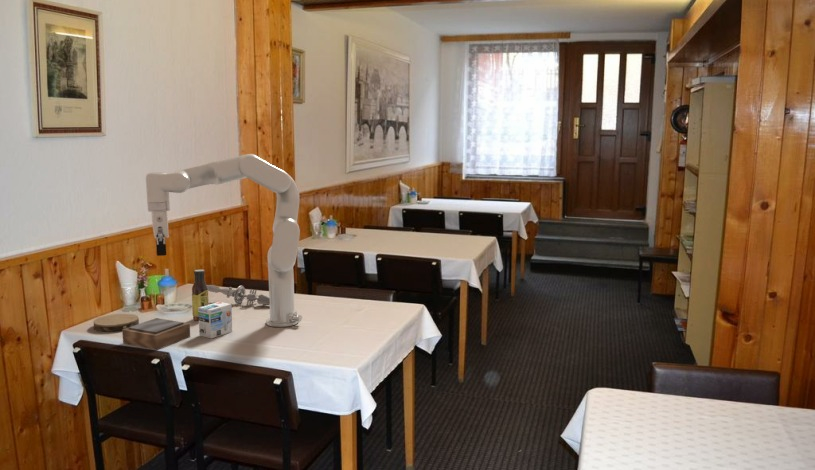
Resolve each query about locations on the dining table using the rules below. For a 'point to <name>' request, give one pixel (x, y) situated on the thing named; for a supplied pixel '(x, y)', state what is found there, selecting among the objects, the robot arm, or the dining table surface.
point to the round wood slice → (115, 322)
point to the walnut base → (156, 333)
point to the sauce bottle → (199, 293)
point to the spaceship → (240, 295)
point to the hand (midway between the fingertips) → (161, 253)
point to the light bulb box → (215, 319)
